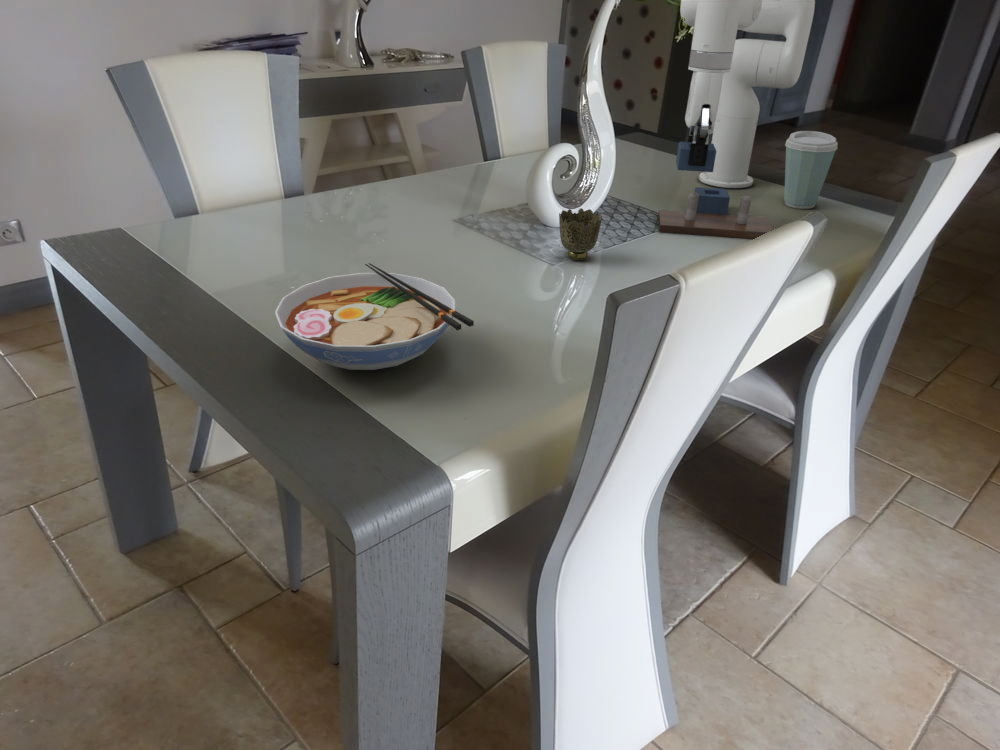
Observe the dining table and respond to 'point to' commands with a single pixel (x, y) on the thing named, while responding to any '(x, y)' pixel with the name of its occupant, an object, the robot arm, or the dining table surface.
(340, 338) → the ramen bowl
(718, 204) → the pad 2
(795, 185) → the disposable coffee cup
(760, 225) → the wooden peg board
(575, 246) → the cup
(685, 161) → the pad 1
